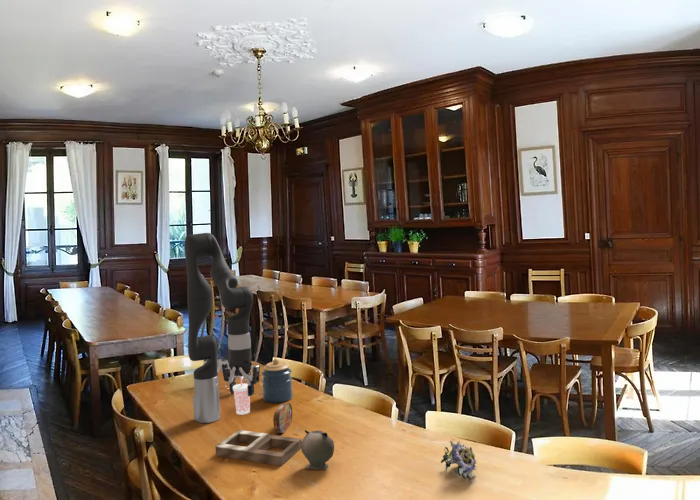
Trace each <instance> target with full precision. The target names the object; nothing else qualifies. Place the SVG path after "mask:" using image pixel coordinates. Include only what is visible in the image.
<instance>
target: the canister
mask: <svg viewBox="0 0 700 500" xmlns="http://www.w3.org/2000/svg"><path fill="white" fill-rule="evenodd" d="M289 367H290V364H288V363H287V362H286V361H281V360H279V359H278V358H273V360H272V361H270V362H268V363H266V365H264V366H263V368H262V369H263V371H261V376H262V379H261V382H262V398H263V401H264V402H266V403H269V404H271V403H272V404H277V403H285V402H289V400H291V399H292V398H293V393H294V392H293V385H292V381H293V377H292V376H291V374H292V370H291V368H289Z"/></svg>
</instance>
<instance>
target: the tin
mask: <svg viewBox="0 0 700 500" xmlns="http://www.w3.org/2000/svg"><path fill="white" fill-rule="evenodd" d="M272 418H273V419H272V422H273V428H274V432H275V433H276V434H284V433H285V432H286V431H287V429H289V428H290V426H291V424H292V422H293V407H292V405H291V403H290V402H286V403H285V402H282V403H281V404H280V405H279V406H278V408H277V409H276V410H275V412H274V414H273V417H272Z"/></svg>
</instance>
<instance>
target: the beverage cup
mask: <svg viewBox="0 0 700 500" xmlns="http://www.w3.org/2000/svg"><path fill="white" fill-rule="evenodd" d="M240 378H241V380H240V383H238V384H237V383H236V385H234V386H233V391H234V394H233V396H234V404H235V413H236V415H239V416H241V415H242V416H243V415H247V414H249V413H250V412H251V396H248V387H247V386H248V384H247V382H246V383H245V382H244V383H243V382H242V376H240ZM240 378H239V379H240Z"/></svg>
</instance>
